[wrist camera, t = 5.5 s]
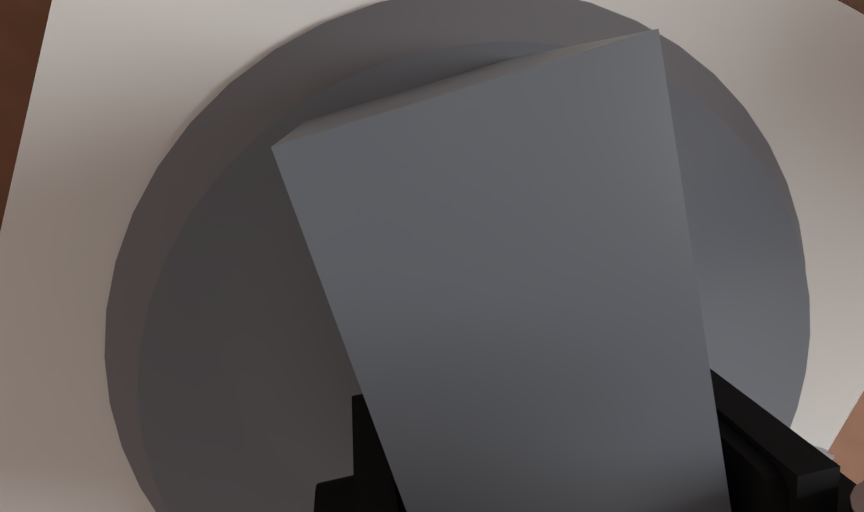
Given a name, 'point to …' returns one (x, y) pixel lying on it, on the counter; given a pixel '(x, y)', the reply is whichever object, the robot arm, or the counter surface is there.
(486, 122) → the dial
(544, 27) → the dial plate
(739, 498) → the robot arm
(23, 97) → the counter surface
